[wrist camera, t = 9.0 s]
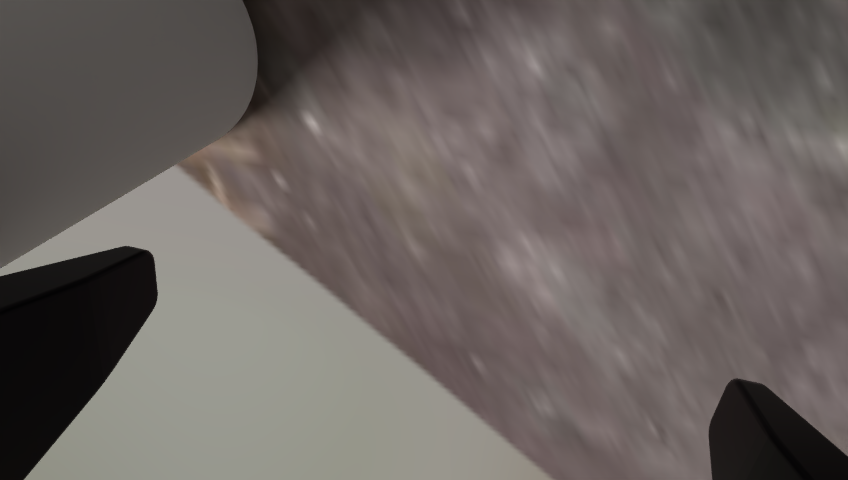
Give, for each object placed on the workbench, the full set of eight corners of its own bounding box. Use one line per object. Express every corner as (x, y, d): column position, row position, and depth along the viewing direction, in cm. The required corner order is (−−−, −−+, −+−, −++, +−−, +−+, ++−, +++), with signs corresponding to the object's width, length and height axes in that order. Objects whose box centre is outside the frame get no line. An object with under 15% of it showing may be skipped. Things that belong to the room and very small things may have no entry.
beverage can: (75, -104, 18) (-661, -168, 7) (285, -39, 17) (-157, 1, 7) (77, 106, 21) (-433, 286, 10) (256, 166, 20) (-79, 418, 10)
